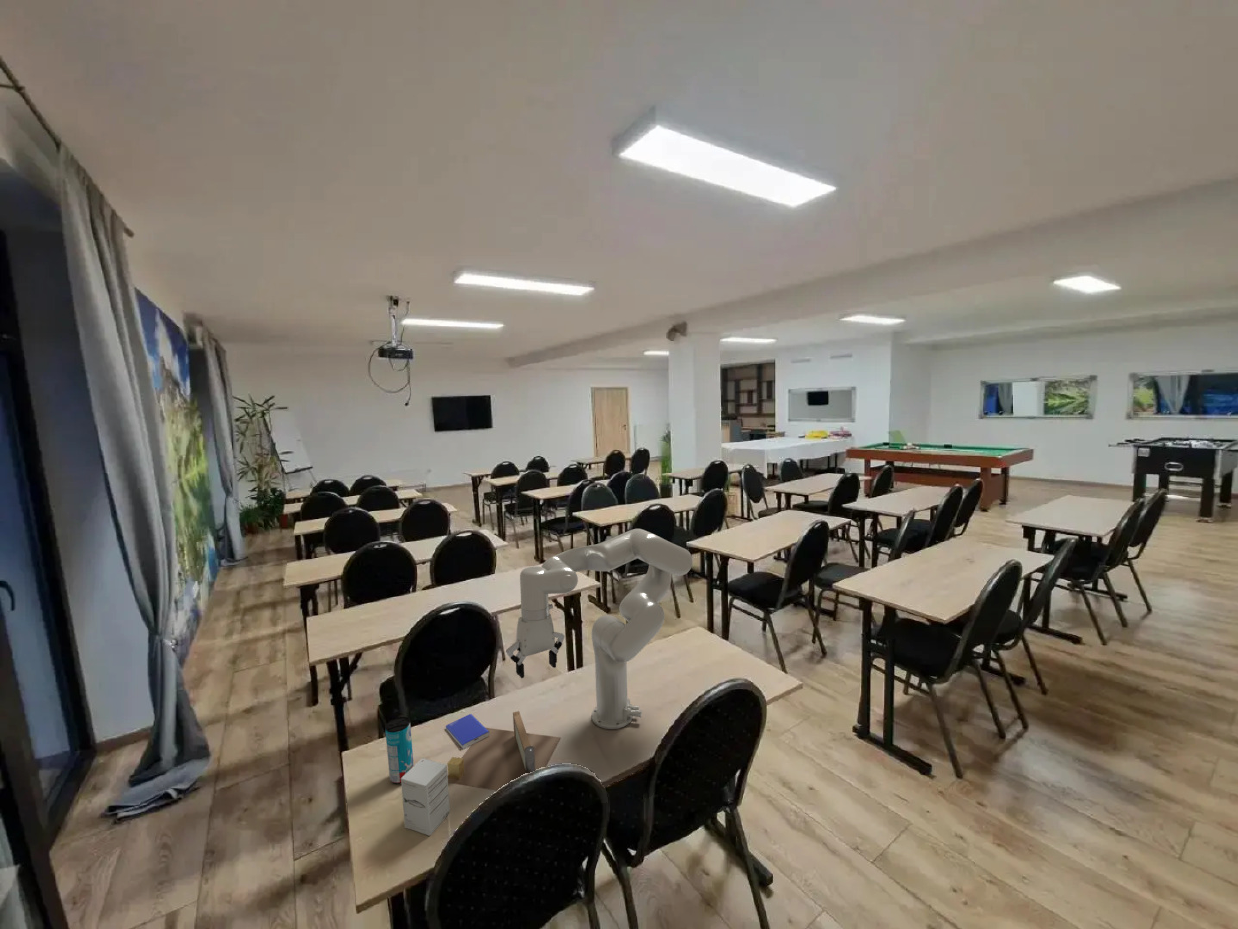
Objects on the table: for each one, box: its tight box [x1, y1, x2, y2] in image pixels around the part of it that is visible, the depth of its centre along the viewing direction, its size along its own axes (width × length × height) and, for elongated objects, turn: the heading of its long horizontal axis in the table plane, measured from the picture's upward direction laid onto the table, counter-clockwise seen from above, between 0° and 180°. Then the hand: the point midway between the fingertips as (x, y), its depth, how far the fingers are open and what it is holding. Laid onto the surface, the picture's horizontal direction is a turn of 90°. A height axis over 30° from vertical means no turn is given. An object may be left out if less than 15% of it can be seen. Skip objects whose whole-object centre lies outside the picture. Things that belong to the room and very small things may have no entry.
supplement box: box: [400, 757, 451, 836], centre depth 116 cm, size 7×7×13 cm
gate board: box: [448, 727, 562, 791], centre depth 136 cm, size 24×22×1 cm
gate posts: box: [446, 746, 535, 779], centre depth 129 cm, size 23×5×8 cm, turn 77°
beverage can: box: [384, 716, 415, 785], centre depth 130 cm, size 6×6×15 cm
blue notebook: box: [445, 713, 490, 750], centre depth 148 cm, size 2×8×12 cm
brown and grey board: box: [512, 710, 531, 770], centre depth 137 cm, size 18×2×7 cm, turn 22°
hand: (537, 670), depth 141 cm, fingers open, 9 cm apart
